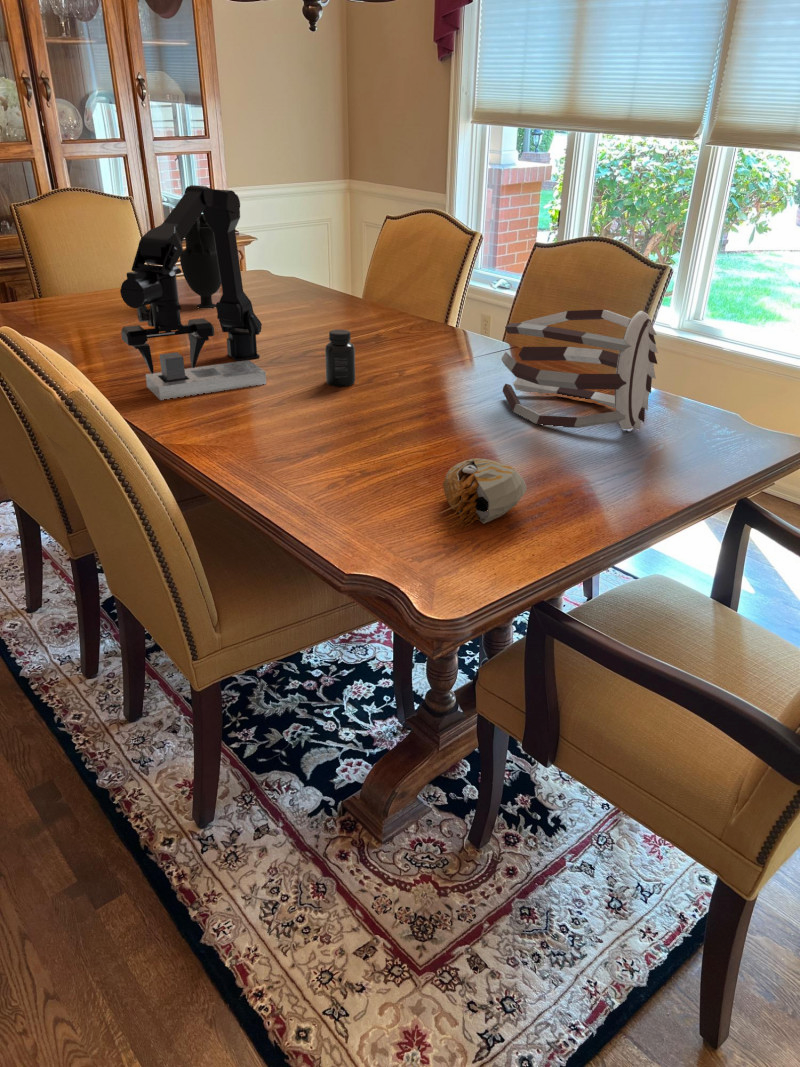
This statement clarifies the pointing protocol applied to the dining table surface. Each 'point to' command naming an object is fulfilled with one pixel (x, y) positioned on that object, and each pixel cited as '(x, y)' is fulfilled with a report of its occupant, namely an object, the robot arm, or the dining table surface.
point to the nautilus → (481, 490)
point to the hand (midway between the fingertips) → (172, 370)
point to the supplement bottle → (340, 359)
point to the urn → (201, 262)
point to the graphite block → (172, 367)
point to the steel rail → (208, 380)
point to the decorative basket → (630, 362)
